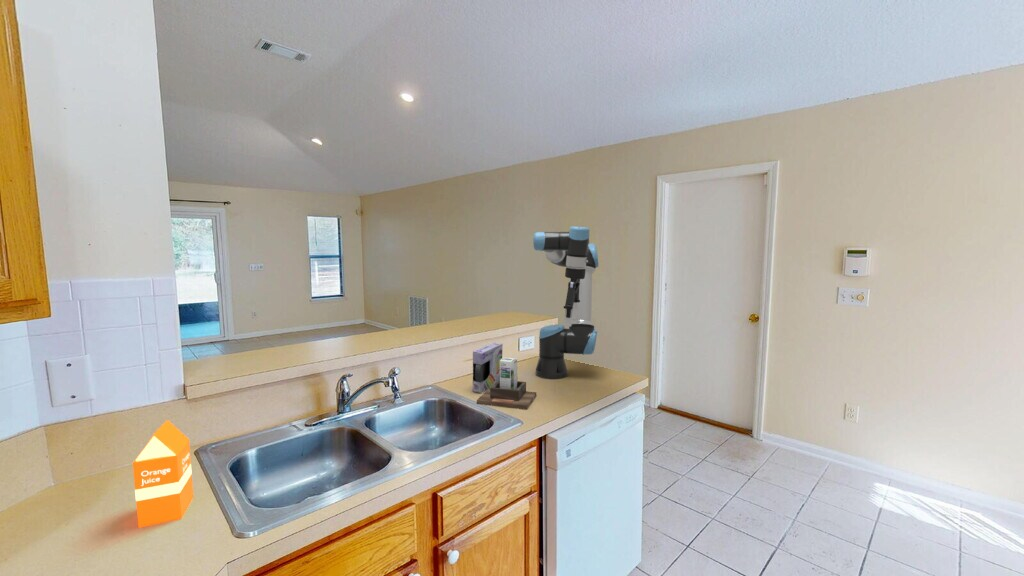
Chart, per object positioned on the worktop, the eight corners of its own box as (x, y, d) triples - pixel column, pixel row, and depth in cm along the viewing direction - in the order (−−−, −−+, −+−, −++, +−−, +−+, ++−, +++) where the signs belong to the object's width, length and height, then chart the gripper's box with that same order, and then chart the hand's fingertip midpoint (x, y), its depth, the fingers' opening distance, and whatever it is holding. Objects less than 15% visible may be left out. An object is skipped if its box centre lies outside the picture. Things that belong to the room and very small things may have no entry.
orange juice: (137, 528, 89) (129, 438, 87) (153, 504, 97) (146, 422, 95) (182, 518, 92) (175, 431, 90) (194, 496, 100) (188, 416, 98)
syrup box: (499, 396, 163) (499, 360, 162) (504, 391, 169) (504, 356, 167) (513, 397, 161) (513, 361, 160) (517, 392, 167) (517, 357, 166)
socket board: (490, 391, 174) (489, 378, 173) (536, 395, 168) (536, 382, 167) (476, 403, 159) (476, 389, 159) (527, 409, 154) (527, 395, 153)
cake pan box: (480, 394, 170) (480, 352, 168) (470, 392, 172) (470, 350, 170) (503, 381, 187) (503, 342, 185) (493, 379, 189) (493, 341, 187)
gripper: (581, 272, 144) (575, 330, 148) (589, 265, 168) (583, 316, 172) (560, 269, 146) (554, 327, 150) (570, 263, 170) (565, 314, 174)
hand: (570, 321), depth 161 cm, fingers open, 13 cm apart
